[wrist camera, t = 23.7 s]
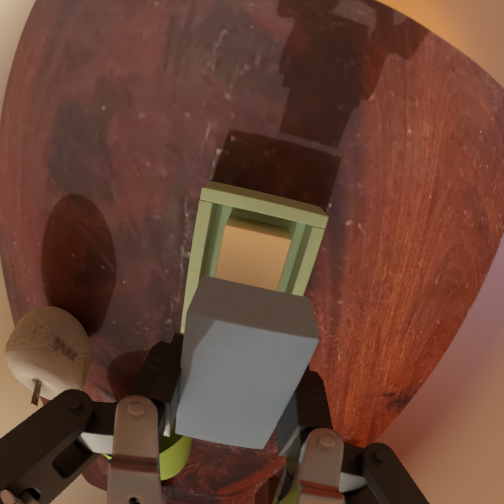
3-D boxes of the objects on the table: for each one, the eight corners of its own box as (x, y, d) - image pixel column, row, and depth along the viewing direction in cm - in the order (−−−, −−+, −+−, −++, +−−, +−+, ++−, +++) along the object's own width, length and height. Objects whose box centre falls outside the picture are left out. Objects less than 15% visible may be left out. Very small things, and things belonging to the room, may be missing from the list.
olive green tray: (210, 180, 19) (202, 186, 16) (320, 206, 19) (329, 216, 16) (188, 312, 22) (180, 332, 20) (280, 332, 23) (281, 354, 20)
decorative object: (45, 274, 22) (-21, 329, 13) (116, 322, 23) (64, 399, 14) (40, 332, 25) (-7, 386, 16) (101, 373, 26) (64, 440, 17)
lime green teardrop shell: (62, 428, 17) (119, 489, 26) (196, 445, 19) (203, 496, 28) (80, 367, 24) (122, 447, 32) (193, 377, 26) (200, 452, 35)
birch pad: (229, 214, 19) (225, 224, 16) (288, 227, 19) (292, 239, 17) (212, 303, 21) (206, 322, 19) (263, 314, 21) (263, 334, 19)
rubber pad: (202, 273, 10) (186, 311, 8) (309, 296, 10) (321, 338, 8) (185, 395, 13) (174, 433, 10) (263, 410, 13) (262, 449, 11)
